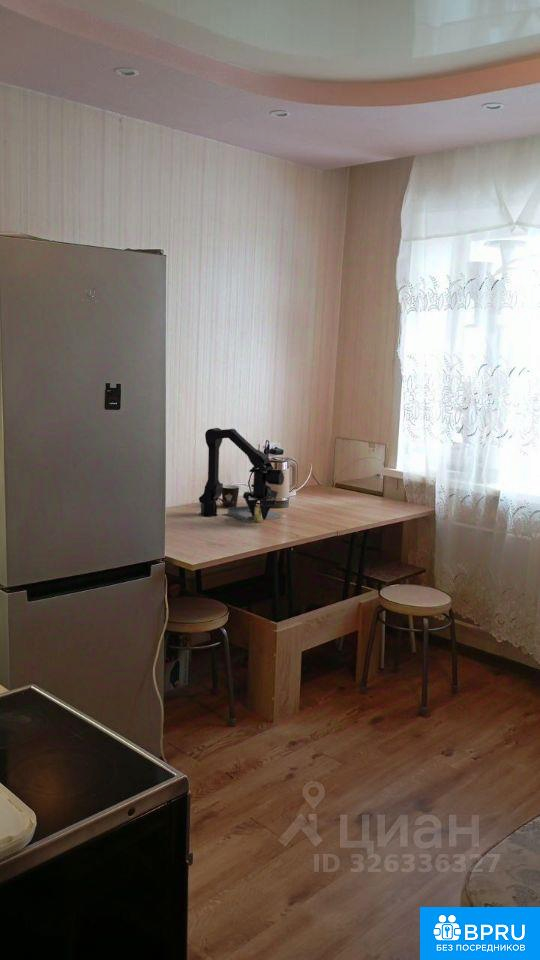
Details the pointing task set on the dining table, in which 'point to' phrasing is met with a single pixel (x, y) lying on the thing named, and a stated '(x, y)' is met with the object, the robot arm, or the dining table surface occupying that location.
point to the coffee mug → (229, 495)
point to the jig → (248, 513)
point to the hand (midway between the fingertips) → (258, 517)
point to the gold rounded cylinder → (258, 515)
